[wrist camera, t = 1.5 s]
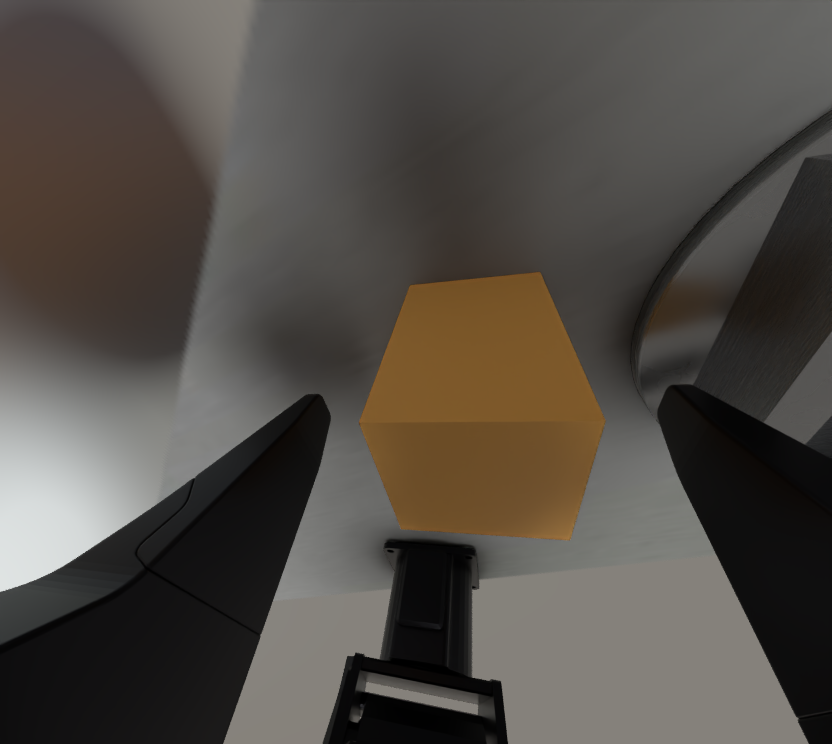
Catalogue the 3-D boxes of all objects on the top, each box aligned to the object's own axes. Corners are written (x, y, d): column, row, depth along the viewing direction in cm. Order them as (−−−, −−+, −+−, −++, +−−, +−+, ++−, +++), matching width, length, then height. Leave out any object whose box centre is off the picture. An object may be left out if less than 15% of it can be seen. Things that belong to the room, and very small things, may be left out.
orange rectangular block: (531, 374, 12) (569, 540, 7) (427, 378, 13) (401, 529, 8) (539, 271, 9) (605, 420, 5) (410, 284, 10) (359, 422, 6)
